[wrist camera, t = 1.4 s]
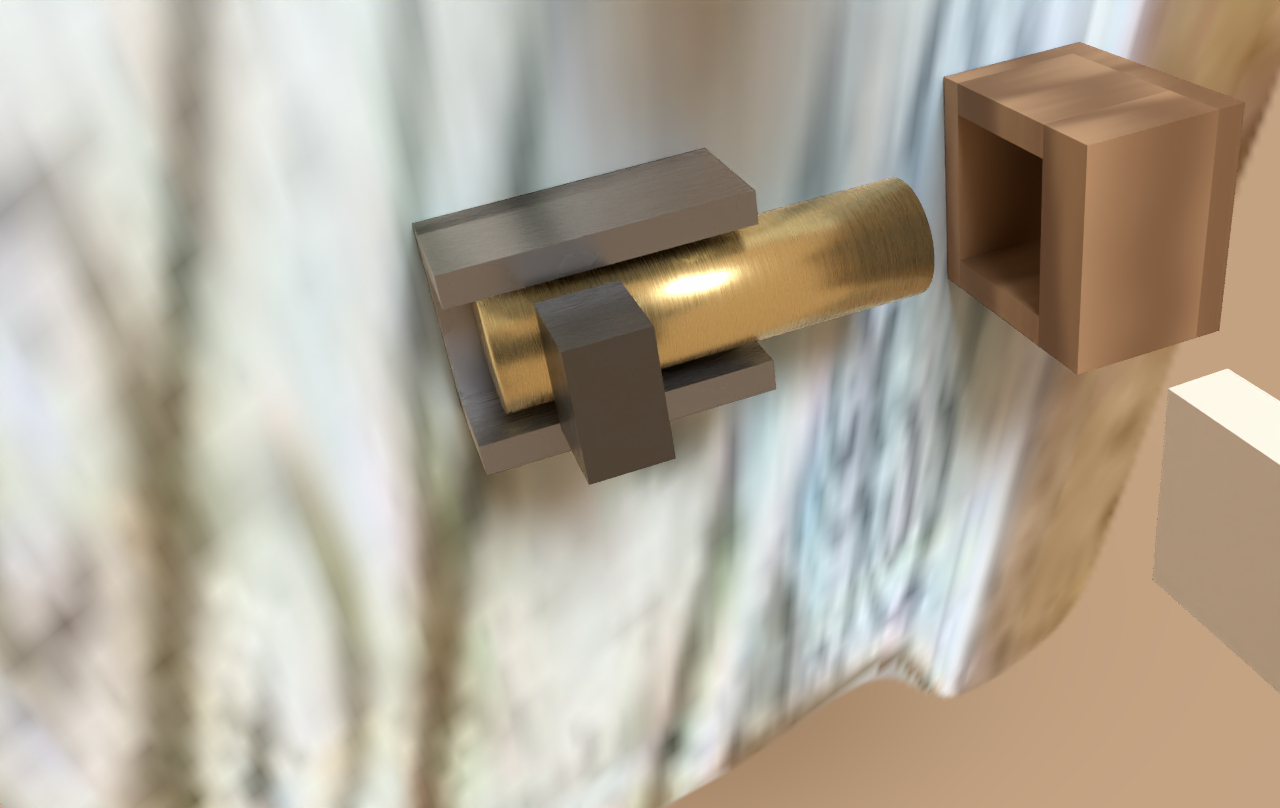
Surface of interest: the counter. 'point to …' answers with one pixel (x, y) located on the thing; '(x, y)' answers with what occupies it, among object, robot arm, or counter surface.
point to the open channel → (573, 243)
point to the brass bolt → (694, 314)
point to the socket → (1090, 201)
